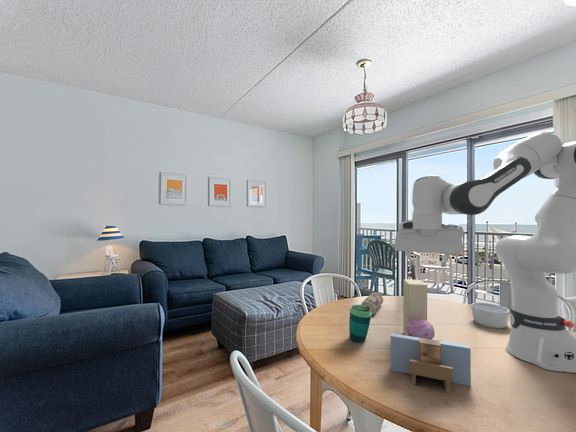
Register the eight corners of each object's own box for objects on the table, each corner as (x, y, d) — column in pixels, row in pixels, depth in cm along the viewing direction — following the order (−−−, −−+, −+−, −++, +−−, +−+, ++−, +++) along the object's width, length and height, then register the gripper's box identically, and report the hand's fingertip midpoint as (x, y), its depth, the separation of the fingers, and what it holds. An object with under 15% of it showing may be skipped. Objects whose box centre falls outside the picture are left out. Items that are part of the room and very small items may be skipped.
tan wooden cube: (439, 366, 74) (439, 340, 74) (441, 373, 71) (441, 346, 71) (419, 362, 76) (419, 337, 76) (420, 369, 73) (419, 343, 73)
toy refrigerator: (429, 343, 97) (429, 284, 97) (408, 341, 98) (407, 283, 98) (423, 334, 104) (422, 279, 105) (403, 332, 106) (402, 279, 106)
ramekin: (515, 331, 107) (515, 314, 107) (476, 327, 111) (476, 310, 111) (501, 319, 119) (501, 304, 120) (467, 316, 124) (467, 301, 124)
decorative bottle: (368, 303, 142) (368, 291, 143) (383, 306, 139) (383, 293, 139) (354, 319, 120) (354, 304, 120) (371, 322, 116) (371, 307, 117)
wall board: (469, 382, 73) (468, 345, 74) (476, 399, 66) (476, 358, 66) (390, 366, 81) (390, 333, 81) (389, 380, 74) (389, 344, 74)
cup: (354, 333, 105) (354, 302, 105) (375, 338, 100) (374, 306, 100) (345, 341, 98) (345, 308, 99) (367, 347, 94) (367, 312, 94)
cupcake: (401, 343, 97) (401, 315, 97) (425, 342, 97) (424, 314, 97) (415, 355, 88) (415, 325, 88) (440, 354, 88) (440, 324, 89)
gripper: (461, 224, 88) (461, 266, 88) (394, 223, 96) (394, 262, 96) (465, 224, 83) (466, 269, 82) (394, 224, 91) (394, 265, 90)
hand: (427, 265), depth 89 cm, fingers open, 8 cm apart
